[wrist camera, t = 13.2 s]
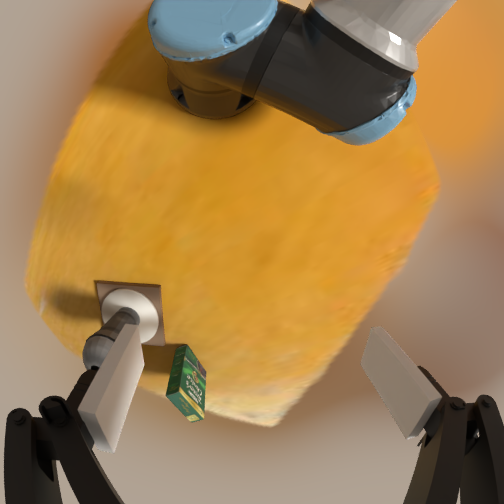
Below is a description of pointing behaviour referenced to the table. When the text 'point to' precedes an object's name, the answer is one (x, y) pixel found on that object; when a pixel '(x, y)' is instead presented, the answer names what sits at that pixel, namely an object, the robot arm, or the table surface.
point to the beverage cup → (107, 337)
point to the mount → (135, 307)
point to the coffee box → (187, 384)
